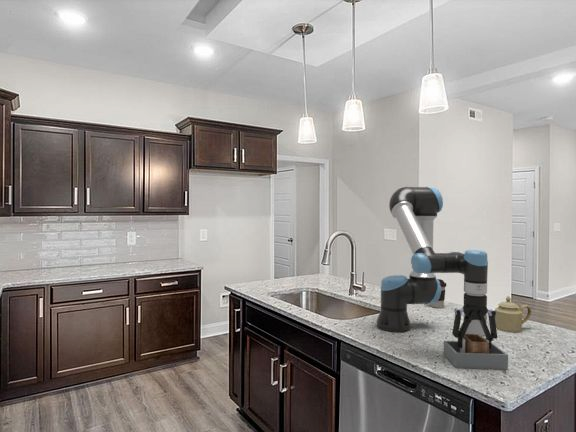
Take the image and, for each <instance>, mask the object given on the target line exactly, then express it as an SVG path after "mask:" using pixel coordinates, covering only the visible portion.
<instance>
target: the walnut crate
mask: <svg viewBox="0 0 576 432" xmlns="http://www.w3.org/2000/svg"><path fill="white" fill-rule="evenodd" d="M463 338H464V339H465V353H485V354H489V342H487V341H486V340H485V339H484V338H485V337H483V336H480V335H478V334H465V335H464V337H463Z"/></svg>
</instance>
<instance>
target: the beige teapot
mask: <svg viewBox="0 0 576 432" xmlns="http://www.w3.org/2000/svg"><path fill="white" fill-rule="evenodd" d="M497 306H498V307H495V308H494V311H495V312H496V315H495V322H496V328H497V329H496V330H499V331H502V330H503V331H502V332H506V331H507V333H520V332H522V331H523V324H525V323H526V322H527V321H528V320H529V319H530V318H531V316H532V309H531V307H530V306H529V305H528V304H522V305H521V306H519V305H517V304H516V303H514V302H511V297H510V296H509V295H507V296H506V297H505V301H502V302H500V303H498V304H497ZM525 308H526V309H527V314H526V316H525V317H524V318H523V311H524V309H525Z"/></svg>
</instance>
